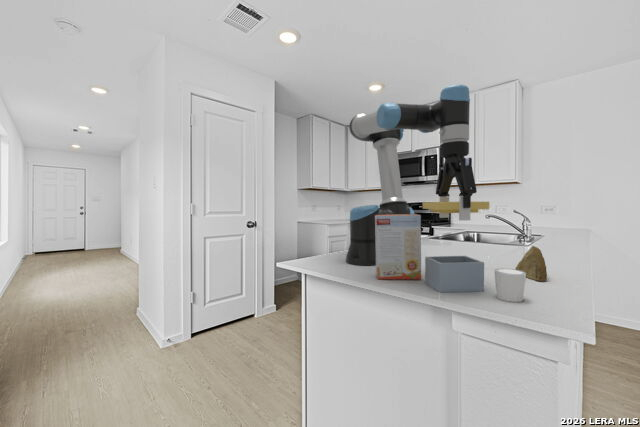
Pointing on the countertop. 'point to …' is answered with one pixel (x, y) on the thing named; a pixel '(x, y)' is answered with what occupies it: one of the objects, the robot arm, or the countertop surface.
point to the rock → (533, 265)
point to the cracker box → (398, 246)
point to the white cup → (510, 284)
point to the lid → (453, 206)
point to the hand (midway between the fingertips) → (453, 218)
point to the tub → (454, 273)
